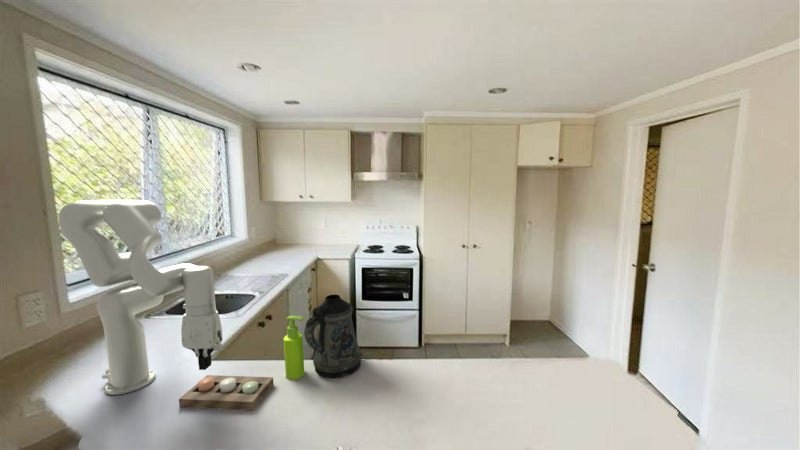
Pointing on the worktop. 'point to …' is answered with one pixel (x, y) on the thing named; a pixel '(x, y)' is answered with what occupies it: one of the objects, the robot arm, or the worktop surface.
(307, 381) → the worktop surface
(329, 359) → the beer stein
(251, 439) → the worktop surface
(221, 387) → the white dome
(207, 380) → the button terracotta
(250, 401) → the button panel
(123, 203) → the robot arm
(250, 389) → the button sage
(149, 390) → the worktop surface
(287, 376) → the soap dispenser
